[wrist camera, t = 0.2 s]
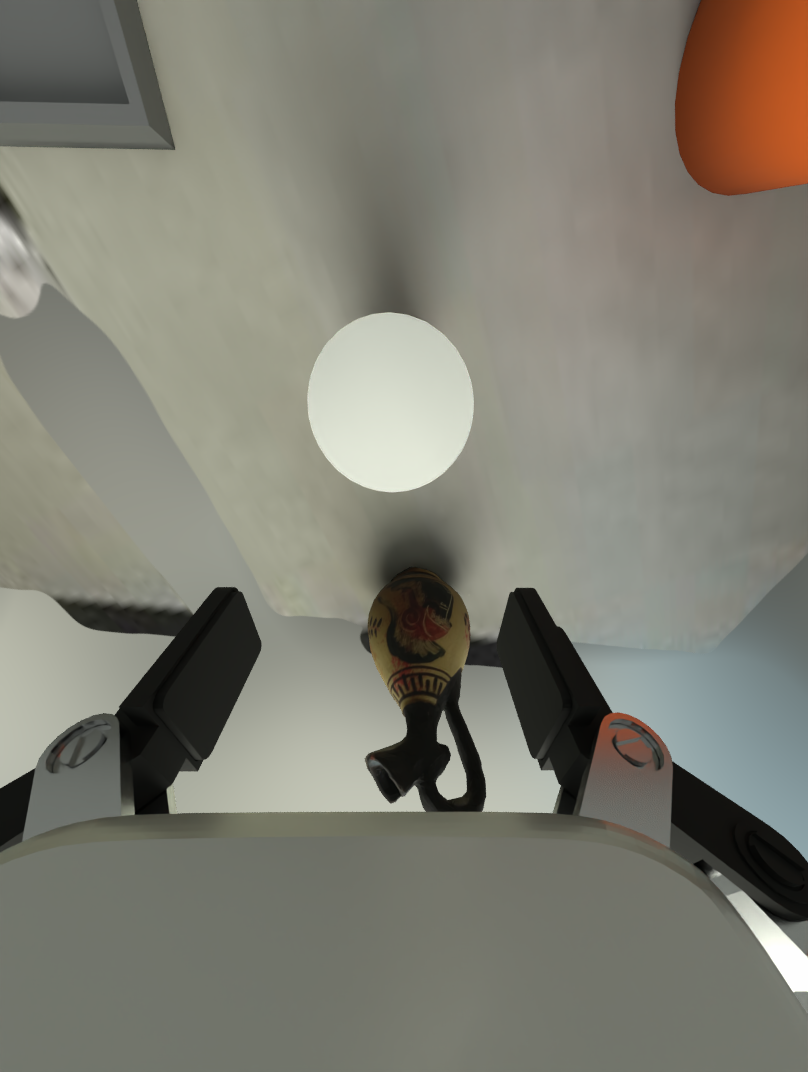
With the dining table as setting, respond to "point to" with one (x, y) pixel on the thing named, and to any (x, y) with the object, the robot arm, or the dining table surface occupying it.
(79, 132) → the tray
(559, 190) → the dining table surface
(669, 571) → the dining table surface
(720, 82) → the flowerpot
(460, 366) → the cylindrical container
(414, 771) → the ceramic jug
